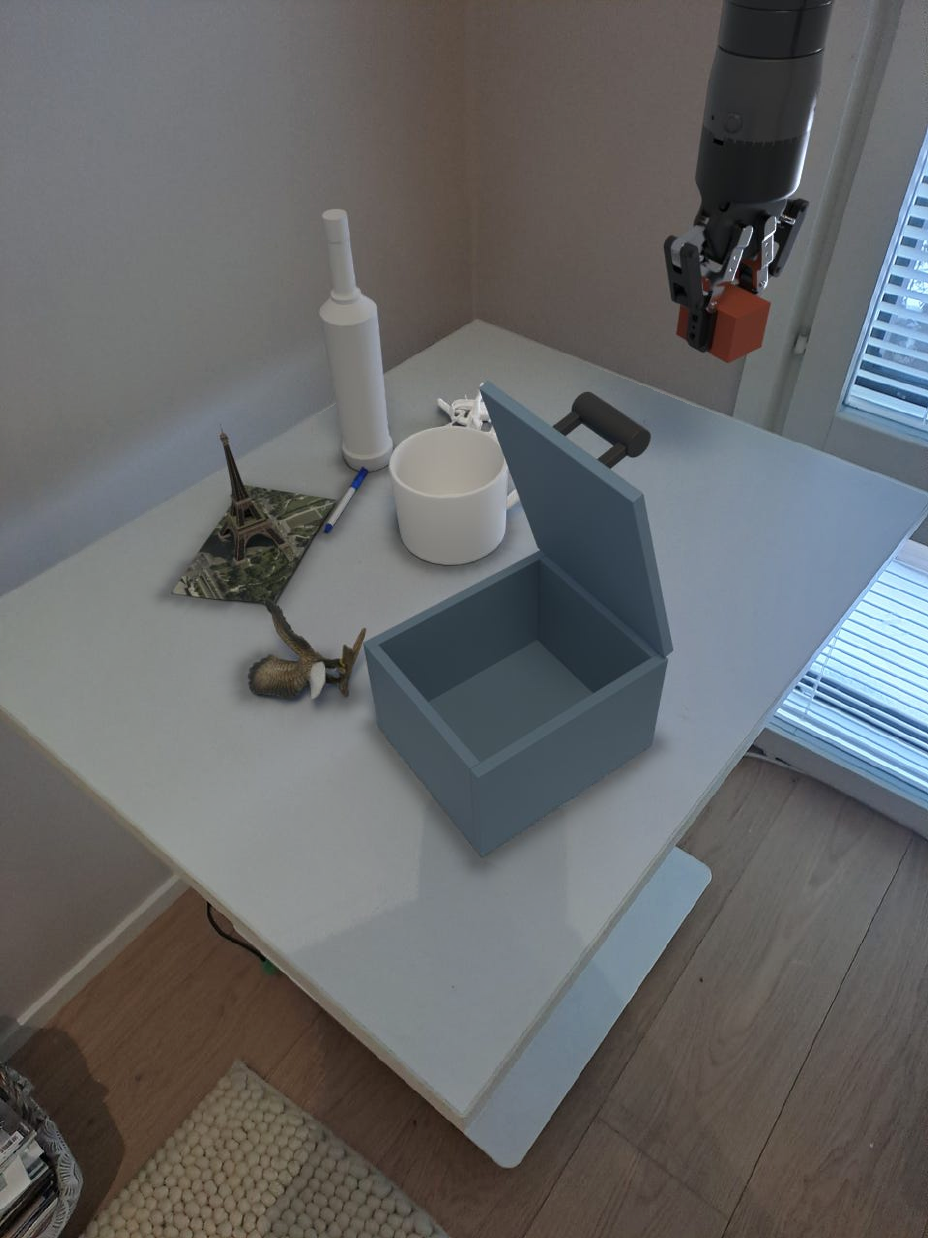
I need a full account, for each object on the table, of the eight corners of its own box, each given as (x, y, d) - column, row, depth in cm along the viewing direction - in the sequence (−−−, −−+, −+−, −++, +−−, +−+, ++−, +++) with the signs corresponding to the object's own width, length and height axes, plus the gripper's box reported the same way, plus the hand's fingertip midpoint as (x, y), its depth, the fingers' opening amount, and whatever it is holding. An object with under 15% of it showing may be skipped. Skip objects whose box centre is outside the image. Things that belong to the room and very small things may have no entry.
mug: (403, 576, 80) (394, 505, 74) (391, 502, 87) (383, 432, 81) (550, 556, 81) (553, 485, 75) (527, 484, 88) (528, 414, 82)
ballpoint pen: (363, 467, 91) (362, 459, 91) (371, 468, 91) (370, 460, 91) (323, 533, 85) (322, 525, 84) (332, 535, 84) (330, 527, 84)
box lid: (632, 502, 46) (704, 443, 47) (477, 387, 54) (541, 338, 54) (665, 658, 59) (720, 611, 60) (537, 547, 67) (587, 507, 68)
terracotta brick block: (761, 347, 75) (771, 302, 72) (727, 363, 74) (736, 318, 71) (709, 319, 79) (716, 275, 76) (675, 334, 77) (681, 290, 74)
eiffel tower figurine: (276, 611, 78) (242, 489, 68) (171, 593, 80) (123, 472, 70) (337, 502, 88) (314, 383, 78) (242, 489, 90) (209, 370, 80)
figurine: (511, 450, 93) (433, 448, 93) (511, 406, 98) (437, 404, 98) (512, 426, 91) (433, 423, 91) (512, 382, 96) (437, 380, 96)
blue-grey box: (481, 858, 61) (477, 778, 54) (378, 727, 69) (362, 642, 62) (652, 744, 67) (668, 658, 60) (538, 636, 75) (541, 548, 67)
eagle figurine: (375, 635, 74) (274, 601, 75) (361, 622, 67) (249, 584, 68) (343, 723, 73) (241, 687, 74) (325, 720, 66) (213, 680, 67)
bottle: (349, 440, 94) (311, 199, 75) (398, 442, 94) (371, 200, 75) (339, 472, 91) (295, 228, 72) (389, 474, 90) (359, 229, 71)
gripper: (785, 83, 68) (744, 296, 81) (646, 127, 63) (625, 348, 76) (867, 107, 64) (810, 329, 76) (725, 157, 59) (689, 387, 71)
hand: (718, 338), depth 76 cm, fingers closed on terracotta brick block, 4 cm apart
